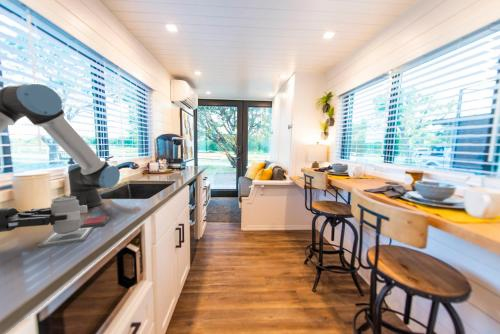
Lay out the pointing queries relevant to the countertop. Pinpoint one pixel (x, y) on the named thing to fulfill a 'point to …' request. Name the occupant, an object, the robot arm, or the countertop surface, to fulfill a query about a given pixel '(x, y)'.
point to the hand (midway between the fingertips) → (83, 211)
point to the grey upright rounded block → (62, 207)
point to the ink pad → (95, 222)
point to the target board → (67, 237)
